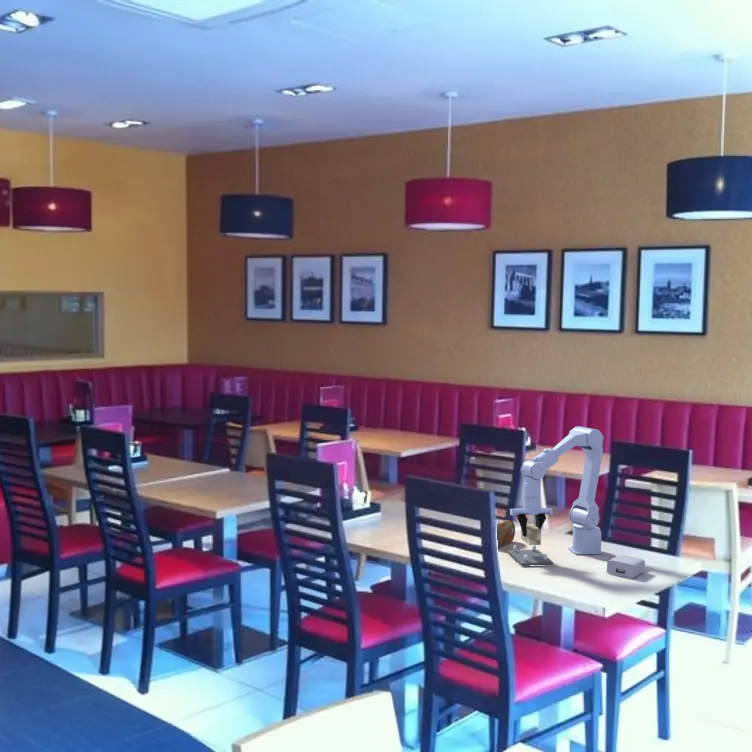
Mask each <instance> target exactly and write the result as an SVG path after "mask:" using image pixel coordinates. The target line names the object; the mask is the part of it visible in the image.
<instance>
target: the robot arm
mask: <svg viewBox="0 0 752 752" xmlns="http://www.w3.org/2000/svg"><path fill="white" fill-rule="evenodd" d="M603 442H604V435H603V434H602V432H601V431H600V430H599V429H596V428H590V427H586V426H585V427H584V426H580V425H577V426H574V428H572V429H571V430H569V433H568V434H567V436H565V437H564V438H563V439H562V440H561V441H559V442H558V443H557V444H556V445H555V446H553V448H550V447H547V448H543V450H542V452H540V453H539V454H538V455H536V456H533V458H532V459H531V460H530V459H529V460H526V461H525V462H523V464H522V465H521V468H520V469H519V471H520V473H521V475H522V481H523V500H522V507H518V508H510V509H509V515H510V516H512V517H514V516H516V518H517V521H518V523H519V525H520V531H521V530H522V535H523V536H524V537H526V525H527V524H528V517H527V516H530V515H531V516H534V519H535V520H534V521H535V526H536V527H537V528H539V529H540V530H541V531H542V527H543V526H544V524H545V521H546V520H547V515H550V516H553V514H554V510H553V508H551V507H541V495H542V494H541V493H542V491H541V490H542V487H541V486H542V479H543V478H544V477H545V474H546V473H547V471H548V469H550V468H552V467H553V466H554V465H556V464H557V463H558V462H559V459H560V457H561V456H562V455H564V454H565V453H567V452H568V451H570V450H572V449H573V448H575V447H580V448H581V449H582V450H583V452H584V453H585V458H584V459H585V460H584V466H583V471H582V478H581V482H580V490H579V494H578V495H579V496H578V498H577V499H575V500H574V501H573V502H572V506H571V509H569V513H568V518H569V521H570V522H571V525H572V547H568V550H569V551H571V552H572V553H573V554H575V555H602V553H603V552H602V531H601V529H600V527H599V526H598V525H599V522H600V514H599V511H600V507H599V506H598V504H597V502H596V501H595V500H596V493H597V488H598V482H599V478H600V471H601V464H602V459H603V452H604V448H603Z"/></svg>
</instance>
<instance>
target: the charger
mask: <svg viewBox="0 0 752 752" xmlns="http://www.w3.org/2000/svg"><path fill="white" fill-rule="evenodd" d="M645 567H646V561H645V559H643V558H640V557H634V556H630V555H624V554H619V555H617V556H615V557H613V558H611V559H609V560H607V562H606V573H607V574H608V573H610V574H609V575H613V574H615V575H614V576H617V575H619V577H622V578H628V579H635V578H636V577H638V576H639V575H641V574H643V573H645Z"/></svg>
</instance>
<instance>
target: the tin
mask: <svg viewBox="0 0 752 752" xmlns="http://www.w3.org/2000/svg"><path fill="white" fill-rule="evenodd" d="M496 523H497V540H498V547H497V548H502V547H505V546H506V545H507V546H508V545H509V544H511V543H512V542H513V540H514V539H515V534H516V527H515V523H514V521H513V520H511V519H508V520H507V519H503V520H501V521H498V522H496Z"/></svg>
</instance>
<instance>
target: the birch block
mask: <svg viewBox="0 0 752 752" xmlns="http://www.w3.org/2000/svg"><path fill="white" fill-rule="evenodd" d="M520 539H521V540H522V541H523V542H525V543H526V544H527V545H528V546H532V545H536V546H541V544H542V543H541V542H542V529H541V530H540V529H539V528H537V527H536V524H533V523H527V525H526V537H524V536H523V535H522V530H521V529H520Z"/></svg>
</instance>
